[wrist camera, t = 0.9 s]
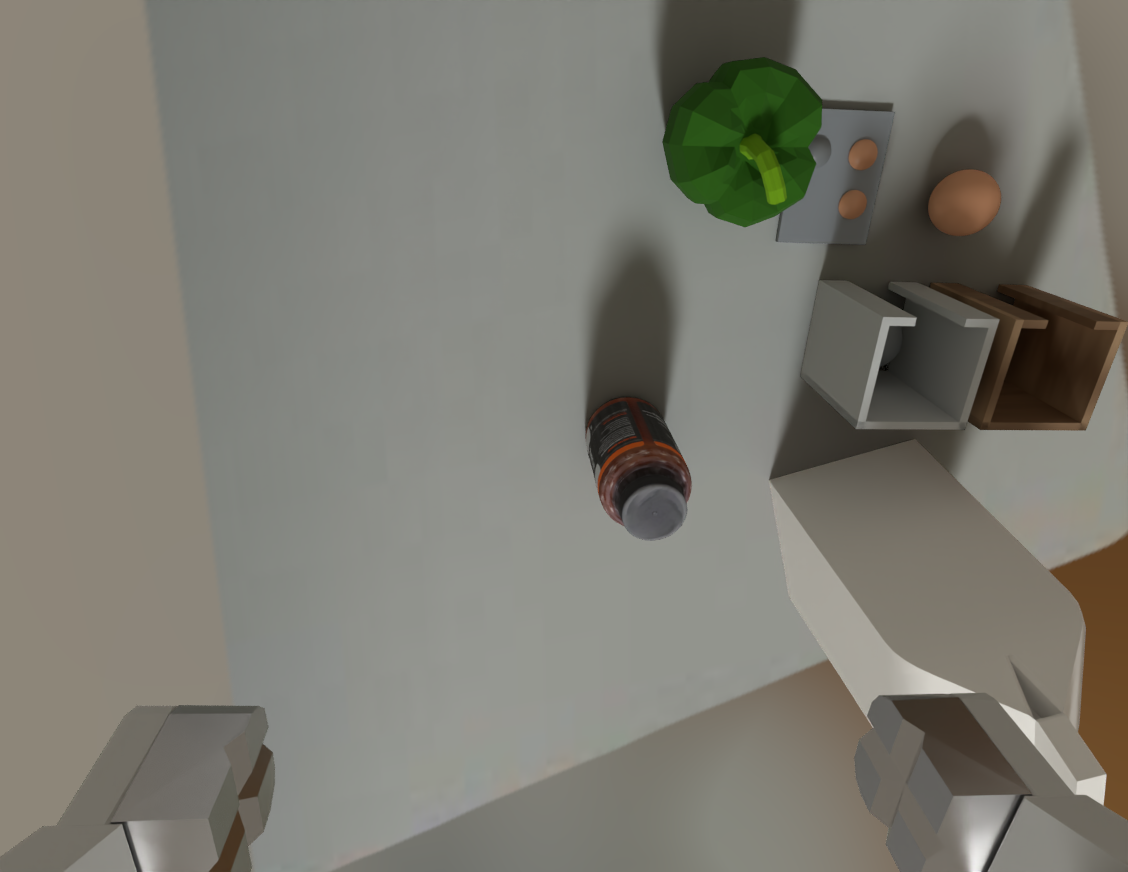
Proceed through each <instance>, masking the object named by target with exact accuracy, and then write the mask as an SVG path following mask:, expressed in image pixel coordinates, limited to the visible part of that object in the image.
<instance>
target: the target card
mask: <svg viewBox="0 0 1128 872" xmlns="http://www.w3.org/2000/svg"><path fill="white" fill-rule="evenodd" d="M894 114H895V112H883V111H862V110H841V109H822V126H821V129H820V130H819V132H818V133H817V135H816V136H815V138H814V139H813V141H812V142H811V144H810V145H809V147H808V148H809V150H810V152H811V154H812V156H813V158H814V160H815V162H816V166H815V169H814V172H813V175H812V177H811V180H810V183H809V186H808V188H807V191H806V194H805V196H804V198H803V199H801V200H800V201H798V202H797V203H795V204H794V205H792V206H790V207H789V208H787V209H786V210H784V211H782V212H781V213H780V218H779V224H778V230H777V236H776V241H777V242H794V243H828V244H862V245H866V240H867V236H868V231H869V227H870V222H871V218H872V213H873V209H874V204H875V200H876V195H877V191H878V186H879V182H880V177H881V173H882V168H883V164H884V159H885V155H886V150H887V146H888V141H889V137H890V132H891V128H892V123H893V119H894Z"/></svg>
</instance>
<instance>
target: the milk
mask: <svg viewBox="0 0 1128 872" xmlns="http://www.w3.org/2000/svg"><path fill="white" fill-rule="evenodd" d="M769 484H770V490H771V495H772V501H773V507H774V513H775V518H776V524H777V530H778V536H779V541H780V547H781V553H782V559H783V564H784V570H785V576H786V582H787V587H788V593H789V598H790V599H791V601H792V602H793V604H794V606H795V607H796V609H797V610H798V612H799V613H800V615H801V616H802V618H803V620H804V621H805V623H806V624H807V626H808V627H809V629H810V630H811V632H812V634H813V635H814V637H815V638H816V640H817V641H818V643H819V644H820V646H821V648H822V649H823V651H824V652H825V654H826V655H827V657H828V658H829V660H830V662H831V663H832V665H833V666H834V668H835V669H836V671H837V672H838V674H839V676H840V677H841V679H842V680H843V682H844V683H845V685H846V686H847V688H848V690H849V691H850V693H851V694H852V696H853V697H854V699H855V700H856V702H857V703H858V705H859V707H860V708H861V710H862V711H863V713H864V714H865V716H866V718H867V719H868V721H869V722H870V720H869V718H868V717H867V714H868V712H869V709H870V706H871V703H872V701H874V700H875V699H876V698H877V697H878V696H879V695H907V694H950V693H987V694H988V695H990V696H991V697H993V698H994V699H996V700H997V701H998V702H999V704H1000V705H1001V706H1002V707H1003V709H1004V710H1005V711H1006V712H1007V713H1008V715H1009V716H1010V717H1011V718H1012V719H1013V721H1014V722H1015V723H1016V724H1017V725H1018V727H1019V728H1020V729H1021V730H1022V732H1023V733H1024V734H1025V735H1026V736H1027V738H1028V739H1029V740H1030V741H1031V742H1032V744H1033V745H1034V746H1035V747H1036V749H1037V750H1038V751H1039V752H1040V753H1041V755H1042V756H1043V757H1044V758H1045V759H1046V761H1047V762H1048V763H1049V764H1050V766H1051V767H1052V768H1053V769H1054V770H1055V772H1056V773H1057V774H1058V775H1059V776H1060V778H1061V779H1062V780H1063V781H1064V783H1065V784H1066V785H1067V786H1068V787H1069V789H1070V790H1071V791H1072V792H1073V793H1074V795H1087V796H1089V797H1090V798H1092V799H1094V800H1095V801H1097V802H1098V803H1100V804H1102V805H1103V804H1104V794H1105V784H1106V773H1105V771H1104V770H1103V768H1102V767H1101V766H1100V764H1099V763H1098V761H1097V760H1096V758H1095V757H1094V756H1093V754H1092V753H1091V751H1090V750H1089V748H1088V747H1087V745H1086V744H1085V742H1084V741H1083V740H1082V738H1081V736H1080V735H1079V734H1078V729H1079V720H1080V706H1081V690H1082V676H1083V662H1084V647H1085V633H1086V627H1085V623H1084V619H1083V615H1082V612H1081V610H1080V607H1079V604H1078V602H1077V601H1076V599H1075V598H1074V597H1073V596H1072V594H1071V593H1070V592H1069V591H1068V590H1067V589H1066V588H1065V587H1064V586H1063V585H1062V584H1061V583H1060V582H1059V581H1058V580H1057V579H1056V578H1055V577H1054V576H1053V575H1052V574H1051V573H1050V572H1049V571H1048V570H1047V569H1046V568H1045V567H1044V566H1043V565H1042V564H1041V563H1040V562H1039V561H1038V560H1037V559H1036V558H1035V557H1034V556H1033V555H1032V554H1031V553H1030V552H1029V551H1028V550H1027V549H1026V548H1025V547H1024V546H1023V545H1022V544H1021V543H1020V542H1019V541H1018V540H1017V539H1016V538H1015V537H1014V536H1013V535H1012V534H1011V533H1010V532H1009V531H1008V530H1007V529H1006V528H1005V527H1003V526H1002V525H1001V524H1000V523H999V522H998V521H997V520H996V519H995V518H994V517H993V516H992V515H991V514H990V513H989V512H988V511H987V510H986V509H985V508H984V507H983V506H982V505H981V504H980V503H979V502H978V501H977V500H976V499H975V498H974V497H973V496H972V495H971V494H970V493H969V492H968V491H967V490H966V489H965V488H964V487H963V486H962V485H961V484H960V483H959V482H958V481H957V480H956V479H955V478H954V477H953V476H952V475H951V474H950V473H949V472H948V471H947V470H946V469H945V468H944V467H943V466H942V465H941V464H940V463H939V462H938V461H937V460H936V459H935V458H934V457H933V456H932V455H931V454H930V453H929V452H928V451H927V450H926V449H925V448H924V447H923V446H922V445H921V444H920V443H919V442H918V441H917V440H916V439H913V440H909V441H906V442H902V443H899V444H895V445H892V446H888V447H884V448H881V449H877V450H874V451H870V452H867V453H863V454H859V455H856V456H852V457H849V458H845V459H842V460H838V461H835V462H831V463H827V464H824V465H820V466H817V467H813V468H810V469H806V470H803V471H799V472H795V473H792V474H788V475H785V476H781V477H778V478H774V479H771V480H769ZM870 724H871V722H870ZM871 725H872V724H871ZM872 727H873V725H872ZM873 728H874V727H873Z"/></svg>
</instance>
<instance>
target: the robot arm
mask: <svg viewBox="0 0 1128 872" xmlns="http://www.w3.org/2000/svg"><path fill="white" fill-rule="evenodd" d="M867 717H868V718H869V720H870V722H871V724H872V725H873V727H874V728H872V729H871V730H870V731H869V732H868V733H866V734H865V735H864V736H863V737H862V738H860V740H859V742H858V746H857V750H856V754H855V773H856V780H857V783H858V787H859V790H860V793H861V796H862V798H863V800H864V802H865V804H866V806H867V808H868V810H869V812H870V813H871V814H872V815H873V816H875V817H876V818H877V819H879V820H880V821H881V822H882V823H883V824H885V825H886V826H887V827H888V828H889V829H888V835H887V840H886V846H887V847H888V849H889V851H890V853H891V855H892V857H893V859H894V861H895V863H896V865H897V866H898V869H899V871H900V872H1128V821H1127V820H1126V819H1124V818H1122V817H1121V816H1119V815H1118V814H1116V813H1114V812H1113V811H1111V810H1110V809H1108V808H1106V807H1105V806H1103V805H1102V804H1100V803H1098V802H1097V801H1095V800H1094V799H1092V798H1090V797H1089V796H1087V795H1074V793H1073V792H1072V791H1071V790H1070V789H1069V787H1068V786H1067V785H1066V784H1065V783H1064V781H1063V780H1062V779H1061V778H1060V776H1059V775H1058V774H1057V773H1056V772H1055V770H1054V769H1053V768H1052V767H1051V766H1050V764H1049V763H1048V762H1047V761H1046V759H1045V758H1044V757H1043V756H1042V755H1041V753H1040V752H1039V751H1038V750H1037V749H1036V747H1035V746H1034V745H1033V744H1032V742H1031V741H1030V740H1029V739H1028V738H1027V736H1026V735H1025V734H1024V733H1023V732H1022V730H1021V729H1020V728H1019V727H1018V725H1017V724H1016V723H1015V722H1014V721H1013V719H1012V718H1011V717H1010V716H1009V715H1008V713H1007V712H1006V711H1005V710H1004V709H1003V707H1002V706H1001V705H1000V704H999V702H998V701H997V700H996V699H994V698H993V697H991V696H990V695H988V694H987V693H950V694H907V695H879V696H878V697H877V698H876V699H875V700H874V701H872V703H871V706H870V709H869V712H868V714H867ZM267 730H268V722H267V718H266V713H265V708H263V707H260V706H195V705H194V706H193V705H185V706H184V705H179V706H136V707H135V708H134V709H132V710H131V711H130V712H129V713H127V714H126V715H125V716H124V718H123V719H122V721H121V722H120V724H119V725H118V727H117V729H116V731H115V732H114V734H113V735H112V737H111V738H110V740H109V742H108V743H107V745H106V746H105V748H104V750H103V751H102V753H101V754H100V756H99V758H98V759H97V761H96V762H95V764H94V766H93V767H92V769H91V770H90V772H89V774H88V775H87V777H86V779H85V780H84V782H83V783H82V785H81V787H80V788H79V790H78V791H77V793H76V795H75V796H74V798H73V800H72V801H71V803H70V804H69V806H68V807H67V809H66V811H65V813H64V814H63V816H62V817H61V819H60V820H59V822H58V824H57V825H56V826H42V827H41V828H39V829H38V830H37V831H35V832H34V833H33V834H31V835H30V836H28V837H27V838H26V839H24V840H23V841H21V842H20V843H19V844H18V845H16V846H15V847H13V848H12V849H10V850H9V851H8V852H6V853H5V854H4V855H2V856H1V857H0V872H251V869H252V864H251V859H250V854H249V848H248V846H249V845H250V844H251V843H252V842H253V841H254V840H256V839H257V838H258V837H259V836H260V835H261V834H262V833H263V832H264V829H265V826H266V823H267V820H268V816H269V813H270V810H271V804H272V798H273V792H274V786H275V764H274V757H273V752H272V751H271V750H269V749H268V748H267V747H266V746H265V745H264V744H263V741H264V738H265V735H266V733H267Z"/></svg>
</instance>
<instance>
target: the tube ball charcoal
mask: <svg viewBox="0 0 1128 872" xmlns="http://www.w3.org/2000/svg"><path fill="white" fill-rule="evenodd" d="M902 343H903V332H902V329H901V326H889V330H888V334H887V338H886V342H885V346H884V350H883V354H882V358H881V362H880V366H879V367H881V366H884V365H886V364H888V363H889V362H890V361H892V360H893V359H894V358H895V357H896V356H897V354H898V353H899V351H900V349H901V346H902Z"/></svg>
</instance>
